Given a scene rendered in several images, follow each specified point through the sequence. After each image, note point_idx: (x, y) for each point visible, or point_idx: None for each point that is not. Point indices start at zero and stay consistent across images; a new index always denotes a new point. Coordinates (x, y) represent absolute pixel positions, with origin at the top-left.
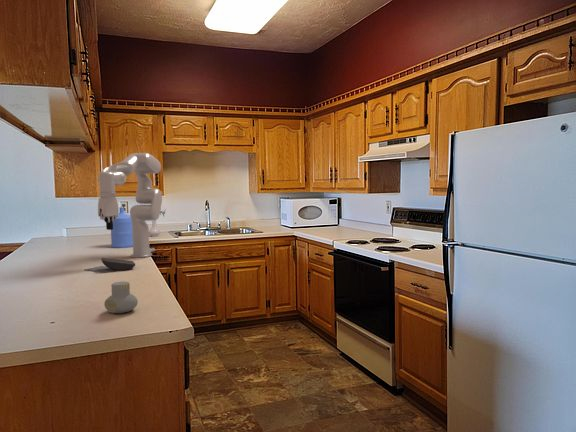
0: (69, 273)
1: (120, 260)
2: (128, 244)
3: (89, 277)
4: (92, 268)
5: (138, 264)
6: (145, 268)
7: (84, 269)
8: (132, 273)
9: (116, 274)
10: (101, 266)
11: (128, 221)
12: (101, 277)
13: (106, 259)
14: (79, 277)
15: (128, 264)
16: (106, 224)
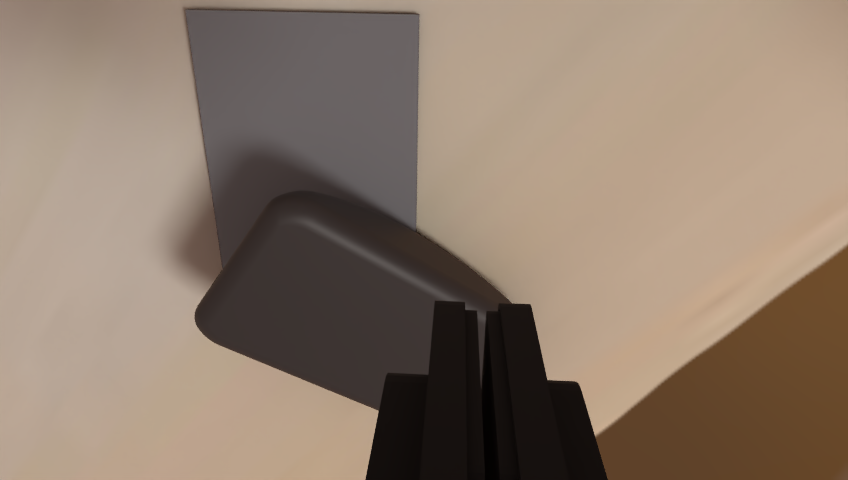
0: (11, 14)
1: (399, 337)
2: None
3: (59, 322)
4: (266, 51)
5: (647, 272)
6: None
7: (187, 15)
8: (325, 472)
9: (242, 408)
10: (389, 45)
11: None
12: (117, 393)
13: (256, 304)
14: (4, 256)
15: None
16: (369, 467)
